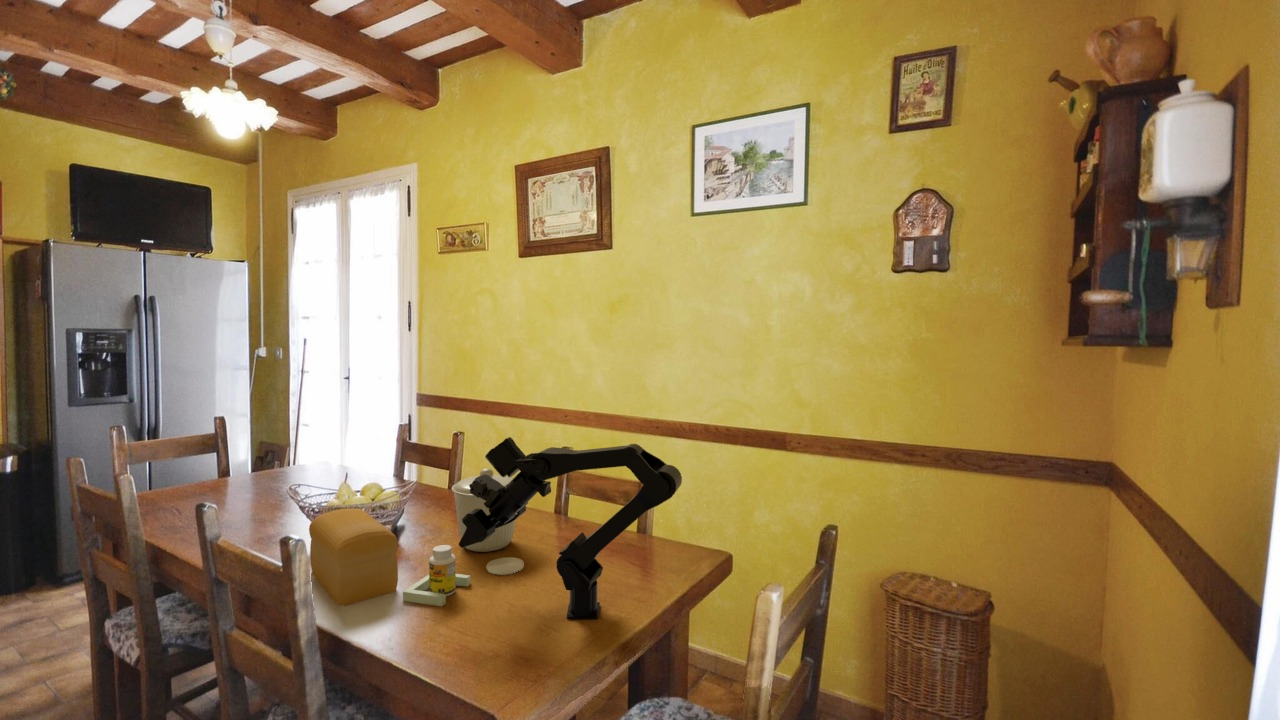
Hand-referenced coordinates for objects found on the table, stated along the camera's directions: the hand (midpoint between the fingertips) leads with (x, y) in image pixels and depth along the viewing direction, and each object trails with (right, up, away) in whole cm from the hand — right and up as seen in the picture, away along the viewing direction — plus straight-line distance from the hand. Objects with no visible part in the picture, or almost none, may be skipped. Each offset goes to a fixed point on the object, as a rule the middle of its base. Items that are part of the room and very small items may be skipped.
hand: (471, 538), depth 131 cm
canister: (-5, -11, +32) cm, 34 cm away
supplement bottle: (-7, -13, +3) cm, 15 cm away
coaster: (+4, -12, +17) cm, 21 cm away
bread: (-30, -13, +8) cm, 34 cm away
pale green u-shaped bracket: (-8, -13, +3) cm, 16 cm away
